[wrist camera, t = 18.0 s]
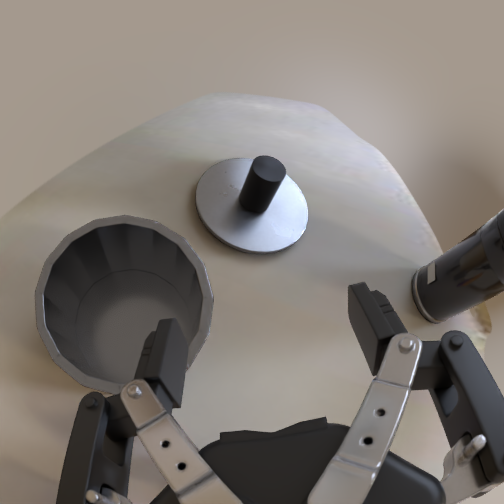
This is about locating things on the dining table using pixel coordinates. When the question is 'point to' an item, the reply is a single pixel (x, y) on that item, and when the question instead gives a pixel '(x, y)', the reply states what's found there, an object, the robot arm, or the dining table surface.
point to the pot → (119, 298)
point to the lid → (252, 205)
